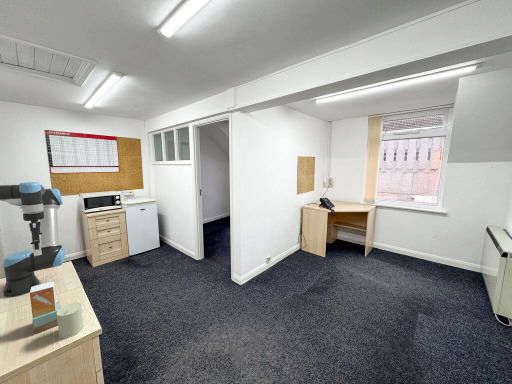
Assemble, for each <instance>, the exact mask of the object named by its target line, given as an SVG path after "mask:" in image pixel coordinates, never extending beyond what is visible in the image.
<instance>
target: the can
mask: <svg viewBox="0 0 512 384" xmlns="http://www.w3.org/2000/svg"><path fill="white" fill-rule="evenodd" d="M59 308H60V309H59V310H58V311H57V313H56V315H57V321H58V326H57V328H58V337H59V338H60V339H68V338H72V337H73V336H76V335H77V334H79V333H80V332H82V330H83V329H84V328H85V324H84V318H83V316H84V315H83V304H82V303H81V302H72V303H68V304H66V305H63V306H61V307H59Z"/></svg>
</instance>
